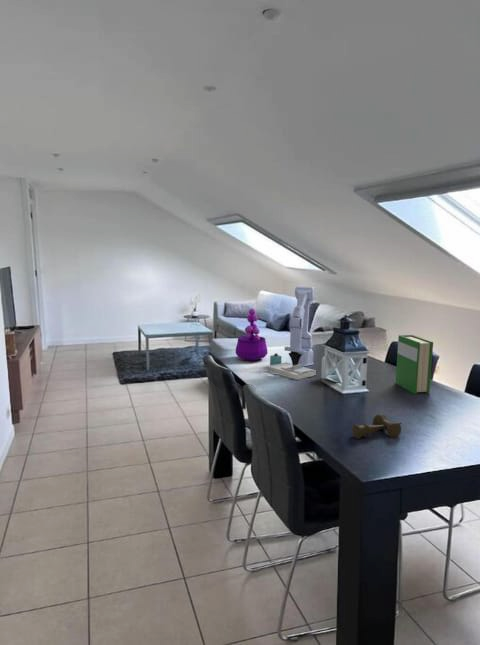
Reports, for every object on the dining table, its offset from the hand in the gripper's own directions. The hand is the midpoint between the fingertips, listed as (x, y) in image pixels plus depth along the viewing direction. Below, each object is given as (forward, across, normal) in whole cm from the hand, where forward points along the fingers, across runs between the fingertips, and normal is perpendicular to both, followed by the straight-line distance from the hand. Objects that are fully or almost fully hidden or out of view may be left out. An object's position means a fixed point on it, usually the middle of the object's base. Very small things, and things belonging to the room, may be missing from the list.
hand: (295, 366), depth 249 cm
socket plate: (+4, -3, 0) cm, 5 cm away
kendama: (+5, +76, -34) cm, 83 cm away
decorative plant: (+4, -39, +3) cm, 39 cm away
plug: (+4, -18, +3) cm, 19 cm away
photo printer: (+4, +19, +6) cm, 20 cm away
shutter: (+1, +4, 0) cm, 5 cm away
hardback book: (+4, +51, +27) cm, 58 cm away
